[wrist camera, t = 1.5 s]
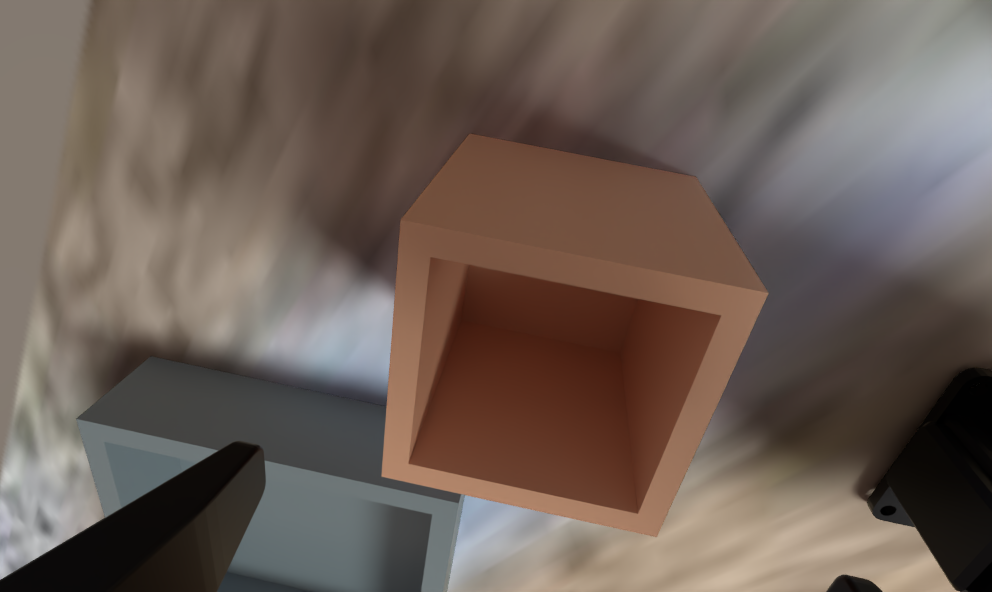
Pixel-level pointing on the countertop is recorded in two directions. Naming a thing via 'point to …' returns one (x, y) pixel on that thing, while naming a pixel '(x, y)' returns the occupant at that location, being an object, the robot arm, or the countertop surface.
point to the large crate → (279, 478)
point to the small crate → (561, 332)
